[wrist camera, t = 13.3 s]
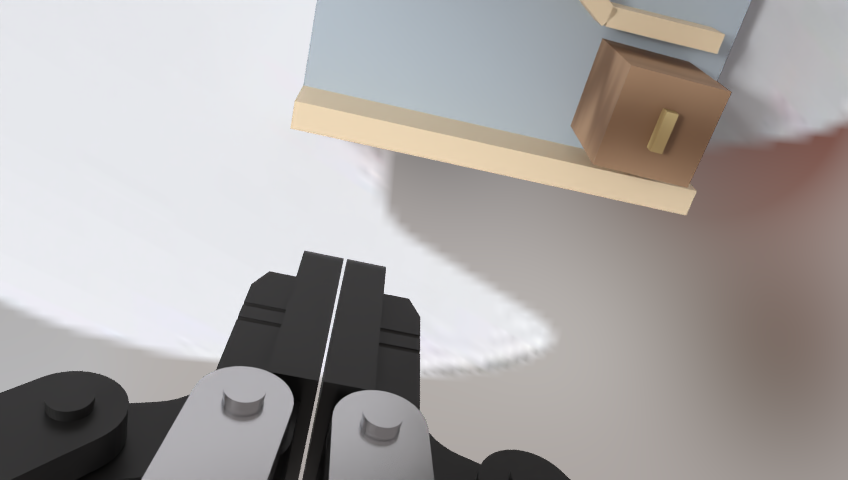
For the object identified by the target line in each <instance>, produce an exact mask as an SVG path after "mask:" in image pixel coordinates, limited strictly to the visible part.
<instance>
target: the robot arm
mask: <svg viewBox="0 0 848 480" xmlns="http://www.w3.org/2000/svg"><path fill="white" fill-rule="evenodd" d="M342 264H343V258H338V257H333V256H328V255H323V254H318V253H314V252H309V251H304V254H303V257H302V260H301V263H300V266H299V270H298V273H297V276H296V277H295V276H290V275H285V274H280V273H275V272H270V271H269V272H268V273H267V274H265V275H264V276H262V277H261V278H259V279H258V280H257V281H255V282H254V283H252V284H251V287H250V289H249V291H248V294H247V296H246V299H245V301H244V305H243V306H242V308H241V311H240V313H239V316H238V320H236V323H235V325H234V328H233V330H232V333H231V335H230V337H229V340H228V342H227V345H226V347H225V349H224V352H223V354H222V357H221V359H220V362H219V364H218V366H217V369H216V371H214V372H211V373H209V374H207V375H206V376H204V377H203V378H202V379H201V380H199V381H198V383H197V384H196V386H195V387H194V388H193V390H192V392H191V394H190V395H188V396H185V397H182V398H179V399H175V400H170V401H162V402H148V403H129V401H128V396H127V394H126V392H125V390H124V389H123V388H122V387H121V385H119V384H118V383H117V382H115V381H114V380H112V379H110V378H108V377H106V376H103V375H100V374H96V373H91V372H83V371H69V372H61V373H55V374H51V375H48V376H44V377H41V378H39V379H36V380H33V381H31V382H28V383H25V384H23V385H20V386H18V387H15V388H12V389H10V390H7V391H4V392H2V393H0V480H298V478H299V473H300V468H301V463H302V458H303V453H304V449H305V444H306V439H307V435H308V430H309V425H310V420H311V416H312V411H313V406H314V401H315V396H316V392H317V387H318V382H319V377H320V372H321V367H322V363H323V358H324V353H325V348H326V343H327V338H328V333H329V328H330V323H331V318H332V313H333V308H334V304H335V299H336V294H337V289H338V284H339V279H340V274H341V269H342ZM385 273H386V267H383V266H378V265H374V264H369V263H364V262H359V261H354V260H349V259H347V262H346V267H345V272H344V276H343V281H342V286H341V290H340V295H339V300H338V305H337V309H336V314H335V319H334V324H333V328H332V333H331V338H330V343H329V348H328V352H327V357H326V362H325V367H324V372H323V378H322V383H321V388H320V393H319V398H318V403H317V408H316V413H315V418H314V423H313V428H312V433H311V439H310V444H309V449H308V454H307V459H306V464H305V469H304V474H303V479H302V480H570V479H569V478H568V477H567V476H566V475H565V474H564V473H563V472H562V471H561V470H559V469H558V468H557V467H556V466H555V465H553V464H552V463H550V462H549V461H547V460H545V459H544V458H541V457H540V456H537V455H535V454H532V453H529V452H525V451H520V450H503V451H498V452H495V453H493V454H491V455H489V456H488V457H487V458H486V459H485V460H484V461H483V462H482V464H479V463H476V462H474V461H472V460H470V459H467V458H465V457H463V456H460V455H458V454H456V453H454V452H452V451H450V450H449V449H447V448H446V447H444V446H443V445H441V444H440V443H439V442H438V441H436V440H435V439H434V438H433V437H432V436H431V434H430V433H429V430H428V425H427V422H426V419H425V417H424V416H423V414H422V413H421V412H420V354H419V352H420V339H419V338H420V316H419V314H418V313H417V311H416V309H415V308H414V306H413V305H412V303H411V301H410V300H409V299H407V298H402V297H397V296H392V295H387V294H384V284H385Z"/></svg>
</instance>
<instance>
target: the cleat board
mask: <svg viewBox="0 0 848 480" xmlns="http://www.w3.org/2000/svg"><path fill="white" fill-rule="evenodd" d="M750 3H751V0H317V4H316V10H315V16H314V23H313V29H312V35H311V41H310V48H309V54H308V60H307V66H306V73H305V79H304V85H303V87H302V89H301V91H300V93H299V94H298V96H297V98H296V100H295V103H294V110H293V116H292V122H291V129H296V130H300V131H305V132H309V133H314V134H318V135H323V136H327V137H332V138H337V139H341V140H346V141H350V142H355V143H359V144H364V145H368V146H373V147H377V148H382V149H387V150H391V151H396V152H400V153H405V154H409V155H414V156H418V157H423V158H427V159H432V160H437V161H441V162H446V163H450V164H455V165H460V166H464V167H468V168H473V169H478V170H482V171H487V172H491V173H496V174H501V175H505V176H509V177H514V178H518V179H523V180H528V181H532V182H537V183H542V184H546V185H551V186H555V187H560V188H564V189H568V190H573V191H578V192H582V193H587V194H591V195H596V196H600V197H605V198H609V199H614V200H618V201H623V202H628V203H632V204H637V205H641V206H646V207H650V208H655V209H660V210H664V211H668V212H673V213H678V214H683V215H687V212H688V210H689V208H690V206H691V203H692V201H693V199H694V196H695V194H696V192H697V191H696V189H695V188H694V187H693V186H692V185H691V184H689V186H688V188H686V187H682V186H678V185H674V184H670V183H666V182H662V181H658V180H654V179H650V178H645V177H641V176H637V175H633V174H629V173H625V172H621V171H617V170H613V169H609V168H605V167H601V166H597V165H593V164H592V162H591V160H590V159H589V157H588V155H587V153H586V152H585V150H584V148H583V147H582V145H581V143H580V141H579V140H578V138H577V136H576V134H575V133H574V131H573V129H572V128H571V123H572V120H573V117H574V115H575V112H576V109H577V106H578V104H579V101H580V98H581V95H582V93H583V90H584V87H585V84H586V82H587V79H588V76H589V73H590V71H591V68H592V65H593V62H594V60H595V57H596V54H597V51H598V49H599V46H600V43H601V41H602V38H603V39H607V40H611V41H614V42H618V43H622V44H625V45H629V46H633V47H637V48H640V49H644V50H648V51H651V52H655V53H659V54H663V55H666V56H670V57H674V58H677V59H681V60H685V61H688V62H690V63H692V64H693V65H695V66H696V67H697V68H699V69H700V70H702V71H703V72H704V73H706V74H707V75H709V76H710V77H711V78H713V79H714V80H716V81H718V78H719V76H720V74H721V71H722V69H723V66H724V64H725V62H726V59H727V57H728V55H729V52H730V50H731V48H732V45H733V43H734V40H735V38H736V36H737V33H738V31H739V29H740V26H741V24H742V22H743V19H744V17H745V15H746V12H747V10H748V7H749V5H750Z"/></svg>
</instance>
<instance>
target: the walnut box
mask: <svg viewBox="0 0 848 480" xmlns="http://www.w3.org/2000/svg"><path fill="white" fill-rule="evenodd" d="M731 93H732V92H731V91H729V90H728V89H727V88H725V87H724V86H723V85H721V84H720V83H718V82H717V81H716V80H714V79H713V78H711V77H710V76H709V75H707V74H706V73H704V72H703V71H702V70H700V69H699V68H697V67H696V66H695V65H693V64H692V63H690V62H688V61H685V60H681V59H677V58H674V57H670V56H666V55H663V54H659V53H655V52H651V51H648V50H644V49H640V48H637V47H633V46H629V45H625V44H622V43H618V42H614V41H611V40H607V39H603V38H602V41H601V43H600V46H599V49H598V51H597V54H596V57H595V60H594V62H593V65H592V68H591V71H590V73H589V76H588V79H587V82H586V84H585V87H584V90H583V93H582V95H581V98H580V101H579V104H578V106H577V109H576V112H575V115H574V117H573V120H572V123H571V128H572V129H573V131H574V133H575V134H576V136H577V138H578V140H579V141H580V143H581V145H582V147H583V148H584V150H585V152H586V153H587V155H588V157H589V159H590V160H591V162H592V164H593V165H597V166H601V167H605V168H609V169H613V170H617V171H621V172H625V173H629V174H633V175H637V176H641V177H645V178H650V179H654V180H658V181H662V182H666V183H670V184H674V185H678V186H682V187H686V188H688V186H689V184H690V181H691V179H692V177H693V175H694V173H695V171H696V169H697V166H698V164H699V162H700V160H701V157H702V156H703V153H704V151H705V149H706V147H707V145H708V143H709V140H710V138H711V136H712V134H713V132H714V129H715V127H716V125H717V123H718V121H719V119H720V116H721V114H722V112H723V110H724V108H725V106H726V103H727V101H728V99H729V97H730V95H731Z"/></svg>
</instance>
